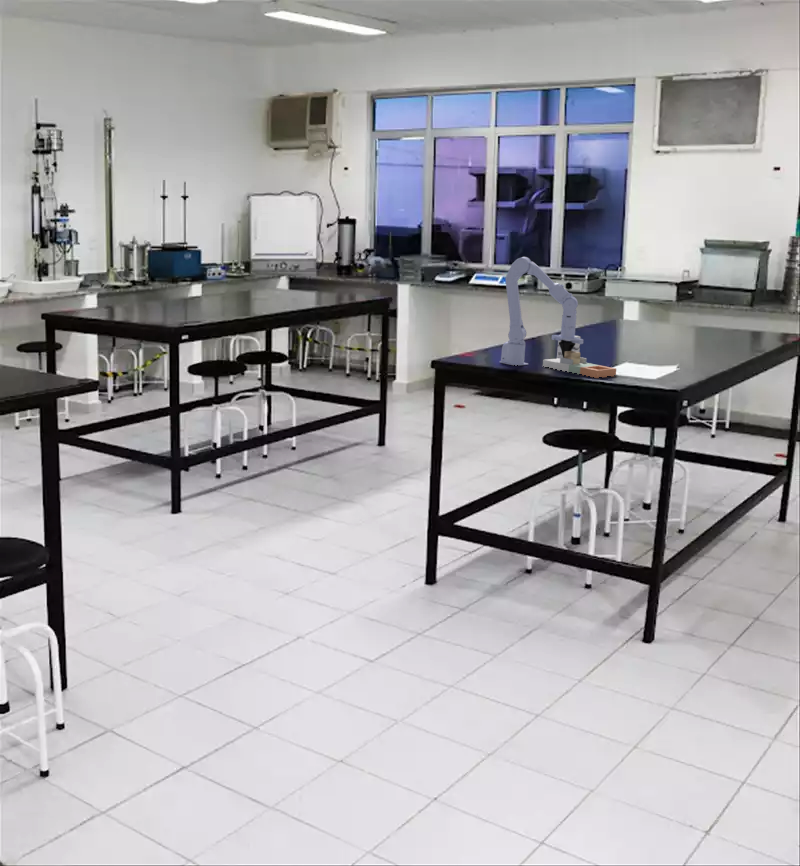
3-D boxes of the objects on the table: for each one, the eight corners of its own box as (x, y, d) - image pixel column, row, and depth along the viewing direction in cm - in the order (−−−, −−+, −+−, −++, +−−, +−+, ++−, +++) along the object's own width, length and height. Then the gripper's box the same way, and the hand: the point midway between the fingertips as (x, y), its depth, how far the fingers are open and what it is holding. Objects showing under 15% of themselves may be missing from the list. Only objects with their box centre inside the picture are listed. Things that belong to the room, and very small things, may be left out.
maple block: (563, 362, 418) (564, 351, 417) (572, 361, 420) (573, 350, 419) (571, 364, 414) (572, 353, 413) (579, 363, 417) (580, 352, 416)
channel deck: (542, 366, 423) (543, 354, 422) (562, 365, 430) (562, 353, 429) (596, 378, 402) (597, 365, 401) (615, 375, 409) (616, 363, 408)
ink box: (579, 363, 438) (581, 335, 435) (573, 364, 434) (576, 336, 431) (561, 360, 443) (563, 333, 440) (555, 361, 439) (558, 334, 436)
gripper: (548, 324, 420) (545, 357, 423) (577, 329, 410) (574, 362, 413) (558, 323, 425) (555, 356, 428) (587, 328, 415) (584, 361, 418)
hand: (565, 359), depth 421 cm, fingers closed
